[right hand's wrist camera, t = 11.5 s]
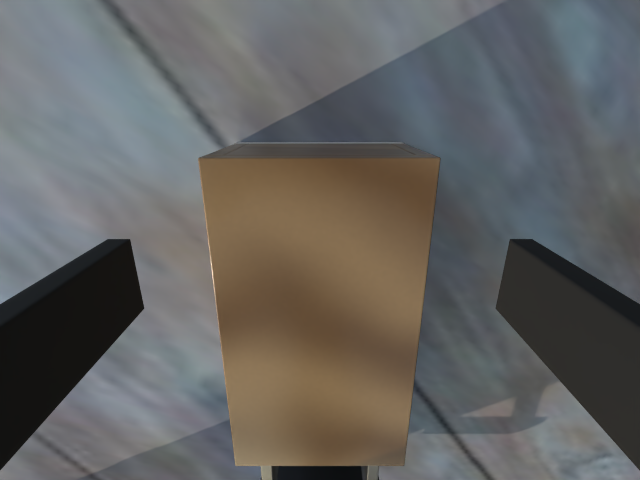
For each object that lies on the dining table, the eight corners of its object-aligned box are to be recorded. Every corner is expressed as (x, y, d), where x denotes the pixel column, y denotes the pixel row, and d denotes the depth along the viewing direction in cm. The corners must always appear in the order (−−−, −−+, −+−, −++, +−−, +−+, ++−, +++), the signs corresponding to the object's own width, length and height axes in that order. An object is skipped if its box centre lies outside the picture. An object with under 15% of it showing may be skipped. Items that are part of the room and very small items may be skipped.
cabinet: (383, 375, 31) (404, 466, 23) (256, 375, 31) (235, 466, 23) (401, 141, 24) (441, 157, 16) (237, 142, 24) (197, 157, 16)
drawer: (369, 495, 35) (380, 576, 29) (270, 495, 35) (259, 576, 29) (385, 273, 26) (405, 322, 20) (253, 273, 26) (233, 322, 20)
